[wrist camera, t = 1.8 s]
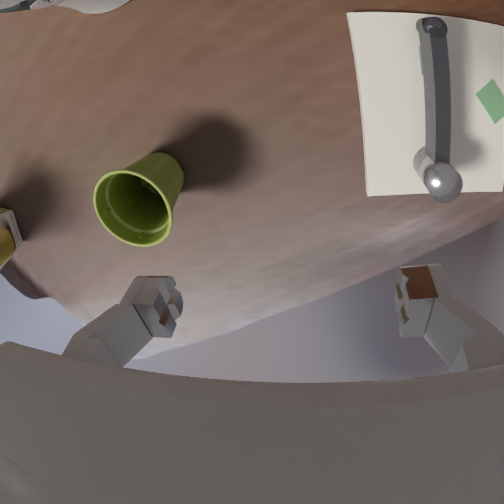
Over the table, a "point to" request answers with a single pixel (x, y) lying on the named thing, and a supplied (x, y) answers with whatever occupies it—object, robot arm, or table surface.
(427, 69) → the grey lever handle
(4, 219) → the juice carton
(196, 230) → the table surface
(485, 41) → the dial board
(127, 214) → the plant pot
